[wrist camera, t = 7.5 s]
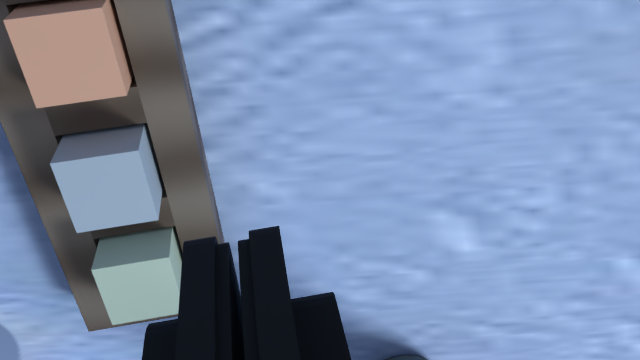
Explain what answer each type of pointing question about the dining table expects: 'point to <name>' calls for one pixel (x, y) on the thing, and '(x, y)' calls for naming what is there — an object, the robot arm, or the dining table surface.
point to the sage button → (139, 274)
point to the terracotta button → (70, 50)
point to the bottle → (407, 357)
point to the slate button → (109, 177)
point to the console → (137, 107)
